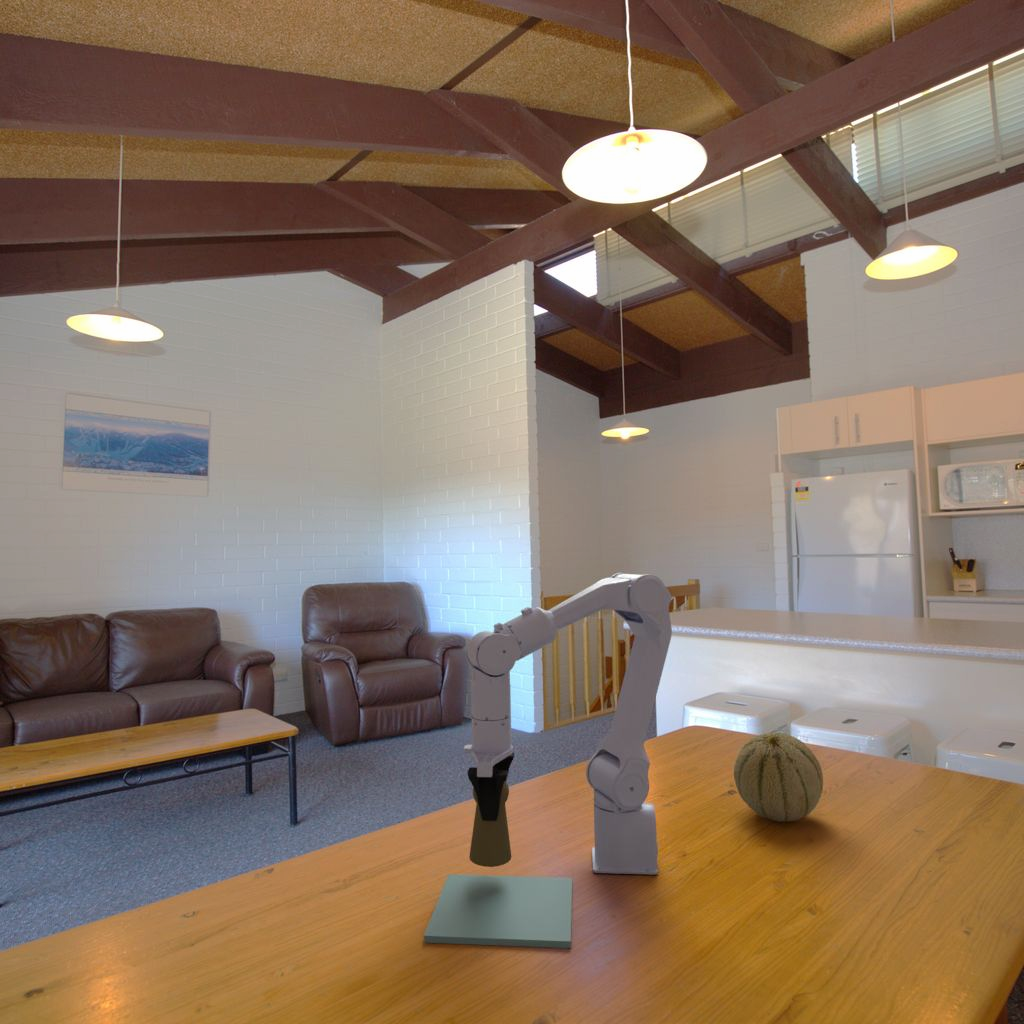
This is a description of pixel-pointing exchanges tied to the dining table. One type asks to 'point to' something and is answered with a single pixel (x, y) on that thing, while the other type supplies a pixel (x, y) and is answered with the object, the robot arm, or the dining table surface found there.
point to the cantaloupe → (778, 777)
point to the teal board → (503, 911)
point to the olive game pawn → (491, 836)
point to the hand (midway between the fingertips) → (492, 812)
